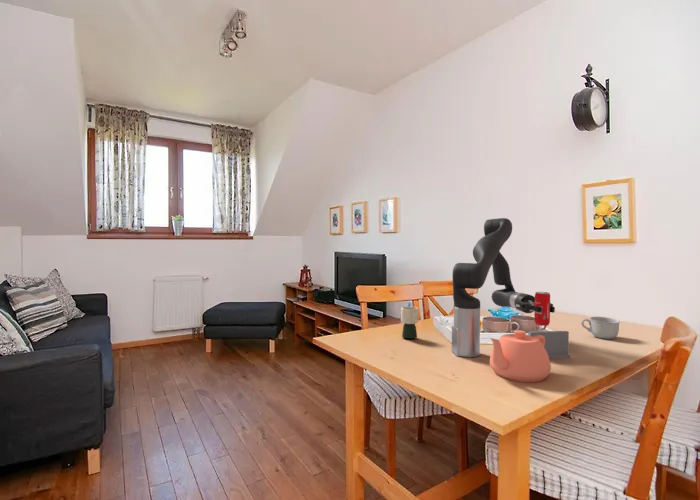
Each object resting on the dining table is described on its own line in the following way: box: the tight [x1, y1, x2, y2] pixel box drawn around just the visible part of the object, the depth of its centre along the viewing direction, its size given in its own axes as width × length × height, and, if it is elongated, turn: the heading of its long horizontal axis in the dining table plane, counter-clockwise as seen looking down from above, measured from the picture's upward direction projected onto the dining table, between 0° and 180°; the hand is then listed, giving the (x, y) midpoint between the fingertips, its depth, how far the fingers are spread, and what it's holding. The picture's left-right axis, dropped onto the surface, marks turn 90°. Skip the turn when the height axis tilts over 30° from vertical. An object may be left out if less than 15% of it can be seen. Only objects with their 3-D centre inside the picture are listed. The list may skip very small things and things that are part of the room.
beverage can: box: [533, 291, 551, 327], centre depth 141 cm, size 5×5×12 cm
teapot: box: [489, 329, 552, 383], centre depth 117 cm, size 25×17×13 cm
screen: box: [527, 330, 571, 359], centre depth 135 cm, size 14×4×9 cm, turn 94°
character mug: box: [400, 306, 419, 340], centre depth 160 cm, size 11×7×13 cm, turn 14°
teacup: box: [580, 316, 621, 340], centre depth 163 cm, size 14×11×8 cm
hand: (547, 309), depth 139 cm, fingers closed on beverage can, 4 cm apart
